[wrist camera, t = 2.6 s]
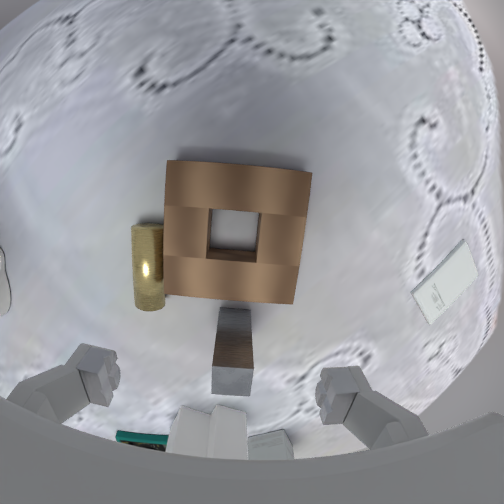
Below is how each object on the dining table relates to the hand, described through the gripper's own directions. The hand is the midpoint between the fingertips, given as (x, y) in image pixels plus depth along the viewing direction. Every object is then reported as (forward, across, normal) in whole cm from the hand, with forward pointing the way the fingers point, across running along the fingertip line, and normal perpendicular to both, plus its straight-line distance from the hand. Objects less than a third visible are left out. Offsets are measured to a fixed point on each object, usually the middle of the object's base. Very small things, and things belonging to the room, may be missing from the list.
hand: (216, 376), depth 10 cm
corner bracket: (+25, +3, +35) cm, 44 cm away
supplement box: (+25, -10, +41) cm, 50 cm away
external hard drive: (+26, -34, +5) cm, 43 cm away
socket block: (+25, 0, 0) cm, 25 cm away
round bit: (+25, +11, +5) cm, 28 cm away
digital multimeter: (+26, +14, +46) cm, 55 cm away
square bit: (+25, -1, +13) cm, 28 cm away
